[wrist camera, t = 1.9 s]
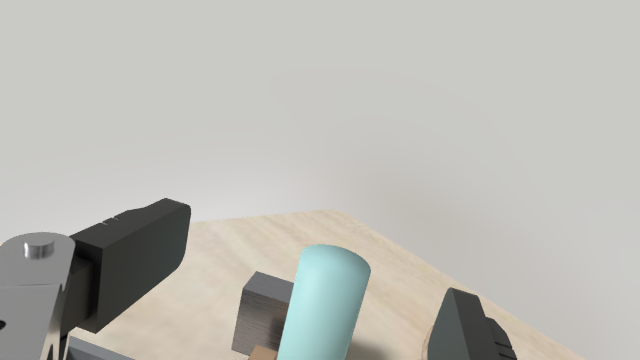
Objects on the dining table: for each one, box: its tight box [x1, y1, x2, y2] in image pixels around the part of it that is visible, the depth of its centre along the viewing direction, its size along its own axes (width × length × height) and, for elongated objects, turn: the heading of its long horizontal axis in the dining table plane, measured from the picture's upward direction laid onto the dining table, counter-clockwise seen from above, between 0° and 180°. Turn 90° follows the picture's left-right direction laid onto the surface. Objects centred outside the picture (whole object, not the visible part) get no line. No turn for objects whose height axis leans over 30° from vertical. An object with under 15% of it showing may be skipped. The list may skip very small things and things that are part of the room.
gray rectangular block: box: [232, 271, 294, 356], centre depth 33 cm, size 3×8×6 cm, turn 78°
